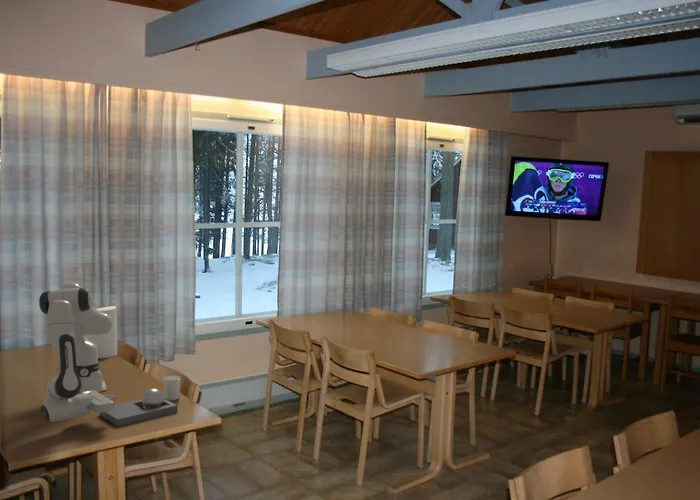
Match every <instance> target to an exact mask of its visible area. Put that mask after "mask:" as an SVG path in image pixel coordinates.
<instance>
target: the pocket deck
mask: <svg viewBox="0 0 700 500" xmlns="http://www.w3.org/2000/svg"><path fill="white" fill-rule="evenodd" d="M177 412H178V404H176V403H173V402H172V401H171V400H166V399H165V398H164V403H163V405H162V406H161V407H157V408H153V409H149V410H146V409H145V408H144V407H143V406H142V403H141V398H140V399H136V400H132V401H128V402H123V403H118V404H114V409H113V410H112V411H107V412H101V413H99V416H100V417H102V418H104V419H105V420H107V421H109V422H110V423H112V424H113V425H115V426H117V427H121V426H125V425H129V424H133V423H137V422H141V421H145V420H150V419H154V418H157V417H162V416H166V415H170V414H174V413H177Z"/></svg>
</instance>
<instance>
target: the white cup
mask: <svg viewBox="0 0 700 500" xmlns="http://www.w3.org/2000/svg"><path fill="white" fill-rule="evenodd" d="M163 391H164V399H166V400H168V401H176V399H177V400H179V399H180V394H181V393H180V392H181V376H179V375H167V376H165V377H163Z"/></svg>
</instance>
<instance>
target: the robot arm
mask: <svg viewBox="0 0 700 500" xmlns="http://www.w3.org/2000/svg"><path fill="white" fill-rule="evenodd" d="M93 299H94V298H93V295H92V293H91V290H90V289H88V288H85V287H84V288H83V287H81V285H79V283H76V282H67V283H65V284H64V285H62V286H61V288H60V289H53V290H46V291H43V292H42V293H41V294H40V295H39V300H38V305H39V309H40V311H41V312H42V313H43V314H44V315H46V326H45V327H46V328H45V331H46V332H45V334H46V339H47V342H48V343H49V344H50V345H51V346H53V347H54V348H56V350H57V352H58V360H59V364H58V365H59V373H58V375H57V376H55V377H53V378H51V379H49V380H48V382H47V383H46V386H45V397H44V400H43V401H42V404H41V407H40V411H41V412H40V413H41V415H42V417H43V418H44V419H45V420H46V421H47V422H59V421H65V420H69V419H71V418H78V417H82V416H87V415H90V413H91V412H95V413H99V414H100V413H101V412H107V411H112V410H113V409H114V405H115V402H116V401H117V396H115V395H114V394H110V395H107V394H106V395H103V394H101V393H102V392H104V391H107V384H106V381H105V380H104V379H103V373H102V372H101V371H100V362H99V360H98V359H99V358H98V348H97V346H96V345H95V344H94V343H92V342H90V341H89V340H88V339H87V338H86V335H103V334H108V333H109V332H110V331H111V329H112V326H113V321H112V318H111V317H110V315H108V314H105V313H102V312H100V311H99V310H97V309H98V308H95V307H94V306H93V302H94V300H93ZM114 401H115V402H114Z"/></svg>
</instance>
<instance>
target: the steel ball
mask: <svg viewBox="0 0 700 500" xmlns="http://www.w3.org/2000/svg"><path fill="white" fill-rule="evenodd" d="M140 399H141V403H142V406H143V409H144V410H149V409H153V408H157V407H162V405H163V403H164V399H165V395H164V394H163V392H162V391H161V390H159V389H158V388H153V387H152V388H149V389H147V390H145V391H144V392H143V393H142V395H141V398H140Z"/></svg>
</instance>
